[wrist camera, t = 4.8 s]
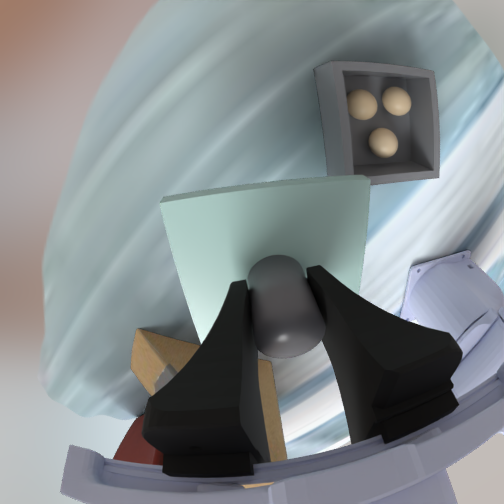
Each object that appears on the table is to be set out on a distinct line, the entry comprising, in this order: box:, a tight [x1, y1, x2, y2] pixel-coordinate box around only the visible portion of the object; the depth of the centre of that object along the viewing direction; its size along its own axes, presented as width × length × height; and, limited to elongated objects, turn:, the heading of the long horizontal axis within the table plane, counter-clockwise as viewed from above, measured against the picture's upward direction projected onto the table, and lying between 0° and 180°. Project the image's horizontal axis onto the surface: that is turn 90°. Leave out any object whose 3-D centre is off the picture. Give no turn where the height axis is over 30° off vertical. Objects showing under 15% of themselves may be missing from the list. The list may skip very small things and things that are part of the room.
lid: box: [159, 175, 371, 358], centre depth 11 cm, size 9×9×5 cm
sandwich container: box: [131, 329, 288, 488], centre depth 22 cm, size 9×15×15 cm, turn 67°
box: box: [313, 61, 440, 185], centre depth 15 cm, size 8×8×4 cm
